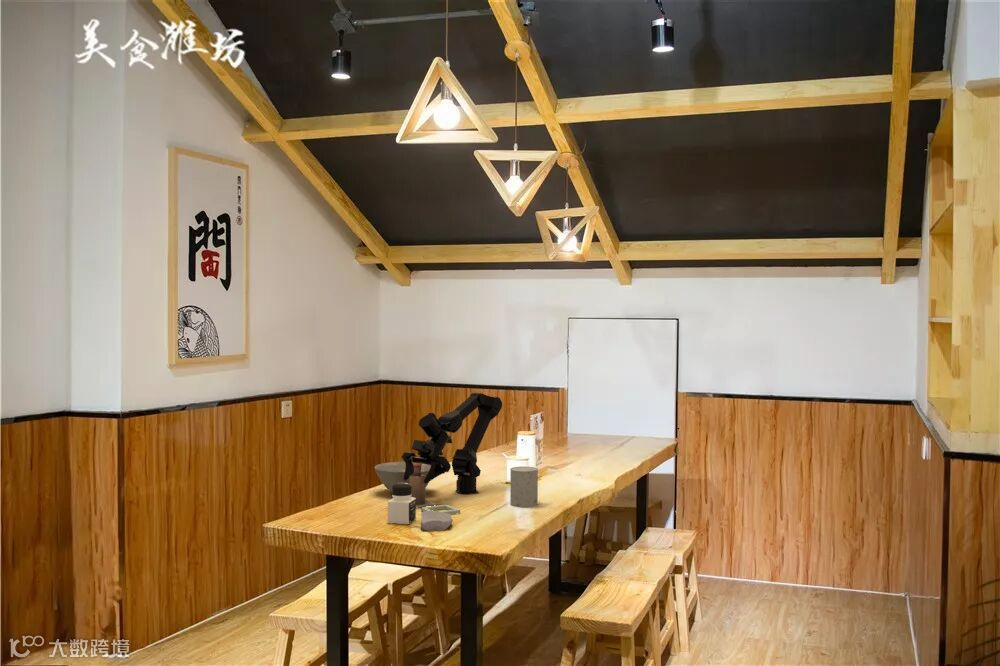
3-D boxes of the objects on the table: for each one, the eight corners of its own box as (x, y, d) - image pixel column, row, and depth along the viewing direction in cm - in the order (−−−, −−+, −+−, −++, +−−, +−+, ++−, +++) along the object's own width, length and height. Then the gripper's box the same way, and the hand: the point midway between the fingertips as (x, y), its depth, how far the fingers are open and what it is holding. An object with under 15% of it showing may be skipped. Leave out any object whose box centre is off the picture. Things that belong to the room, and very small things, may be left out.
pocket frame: (446, 508, 304) (446, 504, 304) (460, 513, 296) (460, 509, 295) (421, 511, 299) (421, 507, 299) (434, 516, 291) (434, 513, 291)
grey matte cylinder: (518, 508, 303) (518, 472, 303) (505, 503, 312) (505, 467, 312) (543, 505, 308) (543, 469, 308) (529, 500, 316) (529, 465, 316)
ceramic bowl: (421, 501, 314) (421, 473, 314) (363, 497, 322) (362, 469, 322) (446, 490, 335) (446, 463, 335) (391, 485, 343) (391, 459, 343)
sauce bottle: (425, 501, 312) (425, 461, 312) (425, 504, 306) (425, 463, 306) (409, 501, 311) (409, 461, 311) (409, 505, 306) (409, 464, 306)
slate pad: (423, 500, 316) (423, 499, 316) (436, 505, 307) (436, 504, 307) (397, 503, 311) (397, 502, 310) (410, 509, 302) (410, 507, 302)
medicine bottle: (409, 524, 280) (409, 486, 279) (387, 523, 281) (387, 485, 281) (416, 519, 287) (416, 482, 286) (394, 518, 288) (394, 481, 288)
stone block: (450, 527, 284) (419, 522, 283) (453, 513, 284) (422, 507, 283) (451, 538, 272) (418, 532, 271) (454, 523, 272) (421, 517, 271)
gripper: (405, 428, 317) (383, 464, 308) (445, 433, 306) (423, 470, 297) (420, 448, 323) (398, 483, 315) (460, 453, 312) (439, 490, 304)
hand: (414, 481), depth 308 cm, fingers open, 9 cm apart
